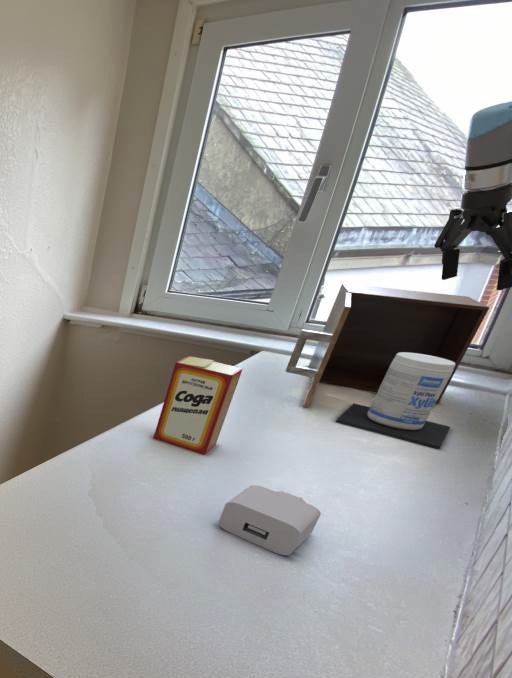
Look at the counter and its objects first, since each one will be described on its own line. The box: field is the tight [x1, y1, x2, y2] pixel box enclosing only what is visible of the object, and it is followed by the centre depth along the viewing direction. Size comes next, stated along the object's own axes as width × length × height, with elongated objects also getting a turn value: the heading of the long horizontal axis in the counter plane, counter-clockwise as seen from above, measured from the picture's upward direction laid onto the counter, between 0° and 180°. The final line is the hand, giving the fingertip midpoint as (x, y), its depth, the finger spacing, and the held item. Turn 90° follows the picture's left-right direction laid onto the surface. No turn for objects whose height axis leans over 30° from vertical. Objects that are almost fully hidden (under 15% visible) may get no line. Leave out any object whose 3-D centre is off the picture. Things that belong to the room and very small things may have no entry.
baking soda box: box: [152, 355, 244, 456], centre depth 104 cm, size 10×6×16 cm
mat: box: [335, 403, 451, 450], centre depth 120 cm, size 17×17×1 cm
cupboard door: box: [285, 293, 351, 408], centre depth 134 cm, size 7×26×23 cm, turn 141°
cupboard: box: [308, 283, 491, 405], centre depth 142 cm, size 18×26×24 cm
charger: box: [218, 484, 321, 556], centre depth 80 cm, size 5×9×15 cm
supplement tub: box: [367, 352, 456, 430], centre depth 117 cm, size 10×10×15 cm
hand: (475, 282), depth 125 cm, fingers open, 13 cm apart
